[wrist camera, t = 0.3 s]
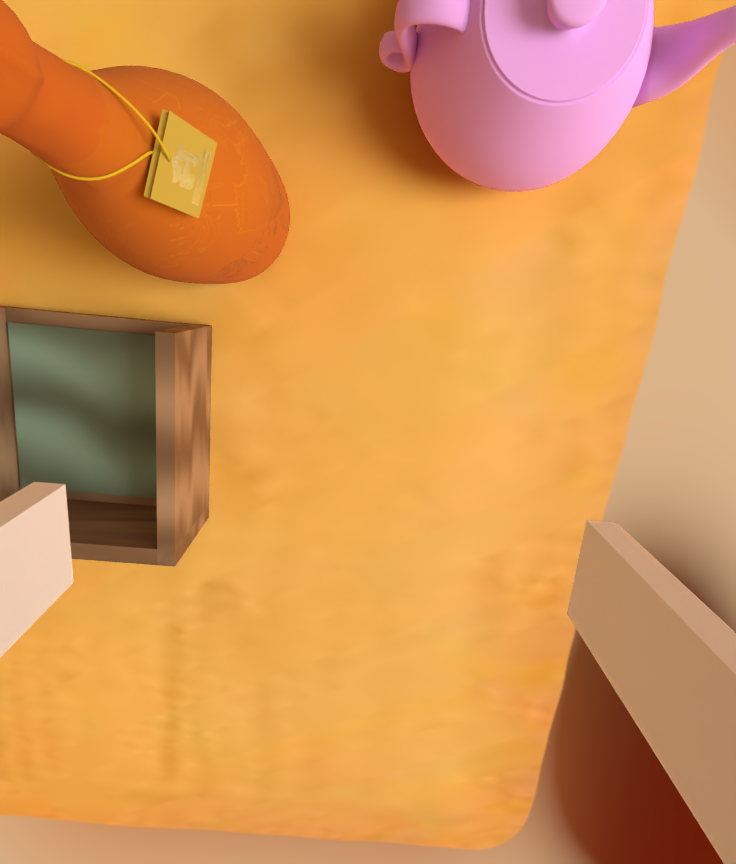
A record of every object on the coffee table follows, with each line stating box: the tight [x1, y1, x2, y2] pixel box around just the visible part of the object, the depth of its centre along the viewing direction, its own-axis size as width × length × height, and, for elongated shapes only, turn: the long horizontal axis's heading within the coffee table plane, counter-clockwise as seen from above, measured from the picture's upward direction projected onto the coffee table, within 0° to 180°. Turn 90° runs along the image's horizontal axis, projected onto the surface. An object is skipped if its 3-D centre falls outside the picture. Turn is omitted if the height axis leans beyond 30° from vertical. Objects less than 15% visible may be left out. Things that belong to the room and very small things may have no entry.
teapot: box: [379, 0, 736, 192], centre depth 30 cm, size 20×14×12 cm
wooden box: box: [0, 306, 212, 566], centre depth 38 cm, size 16×16×8 cm
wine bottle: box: [0, 0, 290, 284], centre depth 23 cm, size 10×10×30 cm
